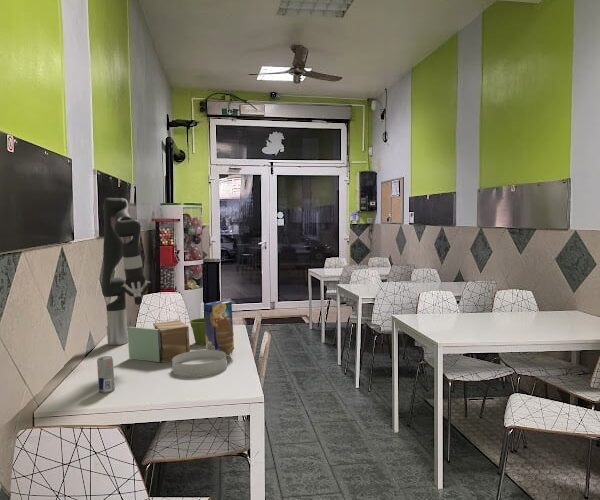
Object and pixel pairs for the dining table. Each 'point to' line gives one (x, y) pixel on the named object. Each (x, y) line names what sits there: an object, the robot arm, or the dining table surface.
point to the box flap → (144, 344)
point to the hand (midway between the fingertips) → (138, 304)
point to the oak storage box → (173, 339)
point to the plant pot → (198, 330)
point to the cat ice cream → (224, 335)
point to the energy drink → (105, 374)
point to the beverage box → (215, 321)
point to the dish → (199, 363)
